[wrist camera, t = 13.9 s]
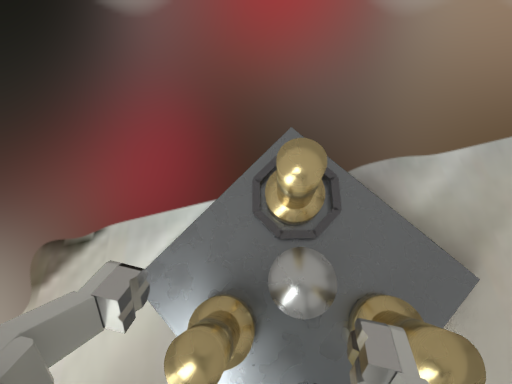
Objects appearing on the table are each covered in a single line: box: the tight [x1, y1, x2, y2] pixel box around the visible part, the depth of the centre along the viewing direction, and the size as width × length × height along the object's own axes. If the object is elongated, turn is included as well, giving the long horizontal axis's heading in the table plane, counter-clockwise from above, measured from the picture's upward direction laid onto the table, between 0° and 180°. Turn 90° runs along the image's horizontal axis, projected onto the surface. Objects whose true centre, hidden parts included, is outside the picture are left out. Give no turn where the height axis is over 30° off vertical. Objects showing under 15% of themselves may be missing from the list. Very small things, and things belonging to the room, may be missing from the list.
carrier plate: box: [146, 127, 486, 384], centre depth 22 cm, size 24×24×12 cm
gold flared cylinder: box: [265, 138, 327, 225], centre depth 24 cm, size 6×6×10 cm
